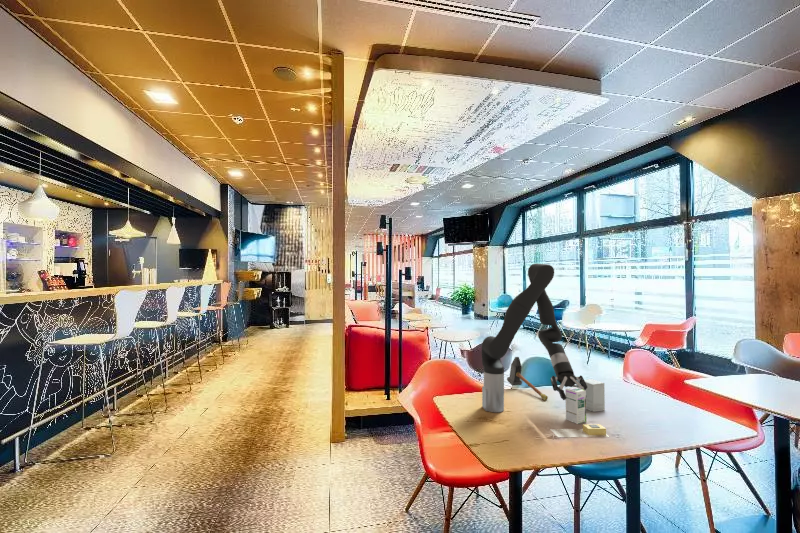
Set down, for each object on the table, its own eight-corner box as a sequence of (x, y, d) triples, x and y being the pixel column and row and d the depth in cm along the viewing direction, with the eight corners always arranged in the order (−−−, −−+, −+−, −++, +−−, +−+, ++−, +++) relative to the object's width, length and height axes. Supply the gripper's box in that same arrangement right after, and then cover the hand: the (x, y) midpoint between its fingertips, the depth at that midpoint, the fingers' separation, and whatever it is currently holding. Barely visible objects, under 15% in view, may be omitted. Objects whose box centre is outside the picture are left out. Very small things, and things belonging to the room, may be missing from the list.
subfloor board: (562, 445, 134) (562, 441, 134) (545, 428, 148) (545, 425, 148) (615, 444, 135) (615, 440, 135) (594, 428, 149) (594, 425, 149)
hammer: (543, 382, 179) (510, 355, 208) (538, 411, 183) (506, 381, 211) (553, 381, 181) (519, 354, 209) (548, 410, 184) (515, 380, 212)
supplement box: (605, 410, 169) (605, 383, 169) (593, 412, 167) (593, 384, 167) (592, 404, 176) (592, 378, 176) (580, 406, 174) (580, 379, 174)
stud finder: (588, 435, 140) (588, 428, 140) (582, 430, 144) (582, 423, 144) (606, 434, 140) (606, 428, 140) (600, 430, 144) (600, 423, 144)
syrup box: (577, 427, 150) (577, 392, 150) (565, 422, 155) (565, 388, 155) (586, 425, 153) (586, 390, 153) (574, 419, 158) (574, 386, 158)
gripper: (548, 361, 164) (561, 395, 152) (579, 360, 165) (594, 394, 153) (543, 369, 169) (555, 403, 158) (573, 369, 170) (587, 403, 158)
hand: (574, 399), depth 155 cm, fingers open, 8 cm apart
